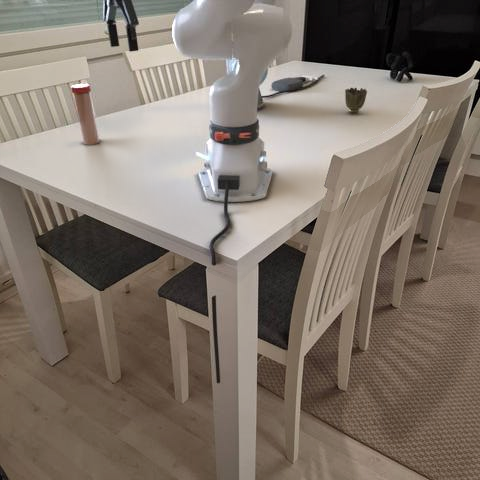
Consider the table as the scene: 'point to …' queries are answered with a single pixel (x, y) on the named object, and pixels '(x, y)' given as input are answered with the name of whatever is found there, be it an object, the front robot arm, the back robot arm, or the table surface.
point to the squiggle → (399, 66)
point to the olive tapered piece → (355, 99)
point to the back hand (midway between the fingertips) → (124, 48)
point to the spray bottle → (291, 83)
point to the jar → (86, 118)
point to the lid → (80, 88)
